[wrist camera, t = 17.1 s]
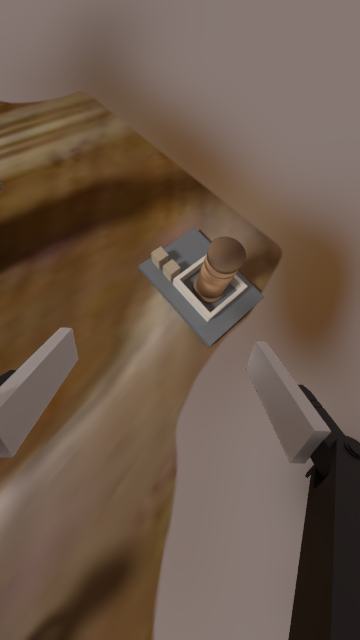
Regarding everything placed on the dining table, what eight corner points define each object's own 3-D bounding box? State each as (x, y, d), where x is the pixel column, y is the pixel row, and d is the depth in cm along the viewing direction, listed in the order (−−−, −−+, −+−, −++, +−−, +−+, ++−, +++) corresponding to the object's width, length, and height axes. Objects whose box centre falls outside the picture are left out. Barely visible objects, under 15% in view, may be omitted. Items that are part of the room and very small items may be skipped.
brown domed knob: (186, 286, 39) (195, 249, 27) (209, 268, 40) (227, 226, 29) (207, 309, 38) (227, 281, 26) (230, 290, 39) (258, 256, 28)
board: (139, 269, 41) (136, 256, 36) (193, 232, 44) (197, 217, 40) (208, 347, 37) (214, 343, 33) (260, 299, 41) (272, 290, 37)
